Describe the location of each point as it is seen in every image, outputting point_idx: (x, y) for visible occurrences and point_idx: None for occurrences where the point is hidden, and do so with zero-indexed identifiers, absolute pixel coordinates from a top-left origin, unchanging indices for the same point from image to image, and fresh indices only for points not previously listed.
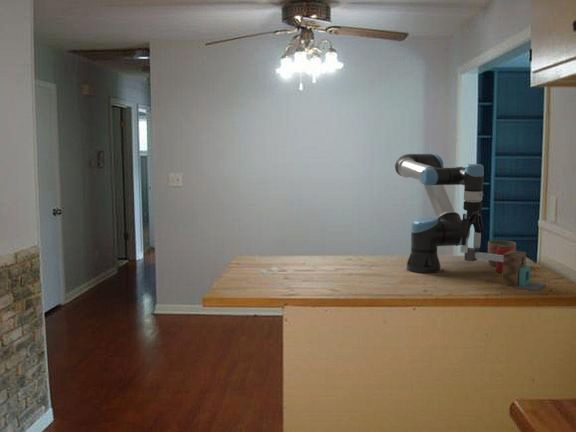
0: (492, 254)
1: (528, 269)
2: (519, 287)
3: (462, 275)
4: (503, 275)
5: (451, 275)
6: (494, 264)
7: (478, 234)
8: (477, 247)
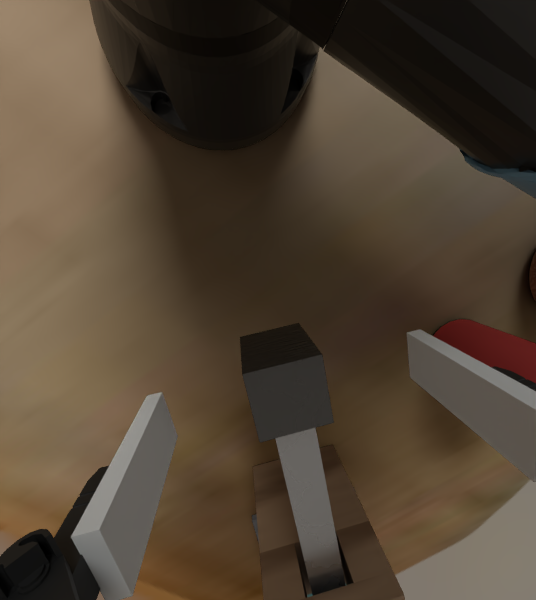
0: (309, 515)
1: None
2: (254, 526)
3: (267, 279)
4: (256, 504)
5: (224, 246)
6: (532, 266)
7: (515, 448)
8: (409, 363)
